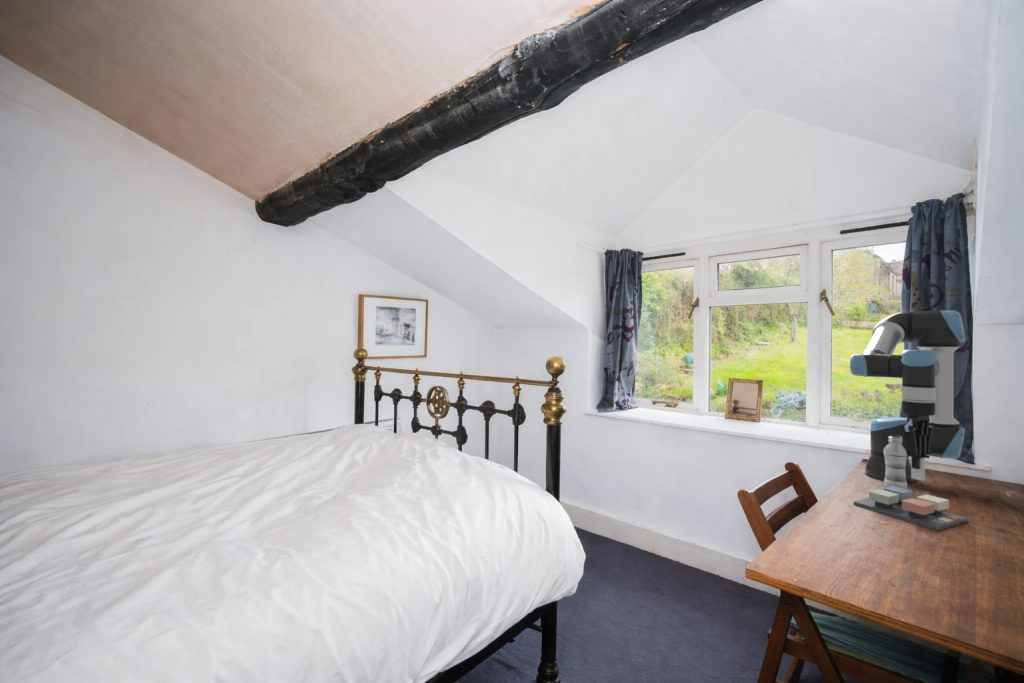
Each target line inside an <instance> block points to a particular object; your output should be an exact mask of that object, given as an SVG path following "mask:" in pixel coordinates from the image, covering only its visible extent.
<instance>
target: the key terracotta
mask: <svg viewBox="0 0 1024 683" xmlns="http://www.w3.org/2000/svg"><path fill="white" fill-rule="evenodd" d="M902 509H904V510H908V511H911V512H915V513H918V514H922V515H927V514H930V513H934V504H933V503H929V502H925V501H922V500H918V499H917V498H914V497H913V498H910V499H906V500H902Z"/></svg>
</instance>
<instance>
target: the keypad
mask: <svg viewBox="0 0 1024 683" xmlns="http://www.w3.org/2000/svg"><path fill="white" fill-rule="evenodd" d="M853 505H854V506H858V507H861V508H864V509H868V510H871V511H874V512H876V513H880V514H884V515H887V516H890V517H893V518H896V519H898V520H899V519H900V520H903V521H906V522H910V523H912V524H914V525H915V524H917V525H920V526H922V527H924V528H925V527H926V528H929V529H933V530H935V531H940V530H943V529H946V528H947V529H948V528H950V527H953V526H957V525H960V524H963V523H966V522H968V517H966V516H962V515H958V514H954V513H950V512H947V511H943V510H941V511H937V510H934V513H930V514H927V515H922V514H918V513H915V512H911V511H908V510H904V509H902V501H901V500H899V502H898V503H894V504H890V505H887V504H884V503H880V502H877V501H874V500H870V499H869V497H867V498H862V499H859V500H855V501H854V500H853Z"/></svg>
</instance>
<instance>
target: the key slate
mask: <svg viewBox="0 0 1024 683" xmlns="http://www.w3.org/2000/svg"><path fill="white" fill-rule="evenodd" d="M883 490H884V491H888V492H892V493H895V494H899V500H901V501H902V500H906V499H910V498H914V490H912V489H911V490H910V489H909V488H908V489H904V488H900V487H896V486H890V487H886V488H884V487H883Z"/></svg>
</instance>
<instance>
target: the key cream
mask: <svg viewBox="0 0 1024 683" xmlns="http://www.w3.org/2000/svg"><path fill="white" fill-rule="evenodd" d="M916 499H918V500H922V501H925V502H929V503H933V504H934V510H937V511H941V510H942V511H943V510H948V509H949V508H950V500H949V499H946V498H943V497H938V496H935V495H930V494H924V495H923V494H922V495H919V496H916Z"/></svg>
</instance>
